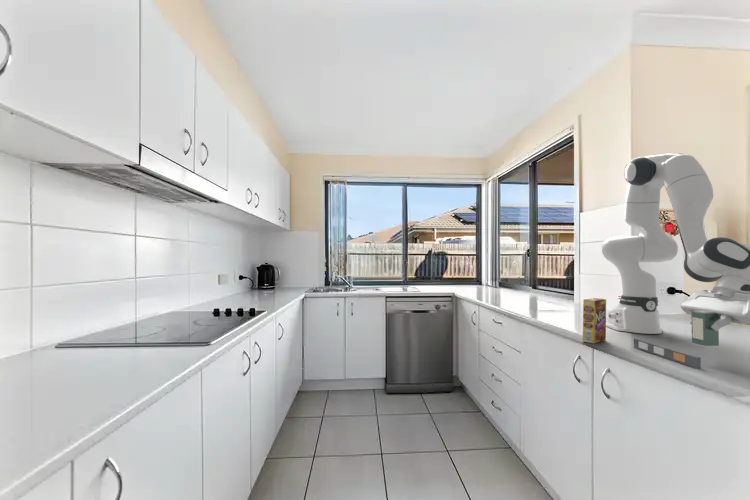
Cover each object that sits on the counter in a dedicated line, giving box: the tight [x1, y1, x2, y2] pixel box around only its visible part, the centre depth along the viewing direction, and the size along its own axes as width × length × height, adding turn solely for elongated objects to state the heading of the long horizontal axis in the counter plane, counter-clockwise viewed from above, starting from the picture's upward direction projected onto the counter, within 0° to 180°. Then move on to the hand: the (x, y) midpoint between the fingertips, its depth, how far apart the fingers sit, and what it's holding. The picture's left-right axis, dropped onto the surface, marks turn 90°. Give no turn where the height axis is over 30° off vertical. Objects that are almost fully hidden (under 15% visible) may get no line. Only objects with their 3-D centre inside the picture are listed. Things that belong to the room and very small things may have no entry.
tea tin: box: [690, 311, 720, 347], centre depth 102 cm, size 4×4×9 cm
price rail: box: [633, 337, 702, 369], centre depth 108 cm, size 22×1×3 cm, turn 3°
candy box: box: [582, 297, 607, 345], centre depth 127 cm, size 9×4×15 cm, turn 123°
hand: (702, 327), depth 102 cm, fingers closed on tea tin, 4 cm apart
